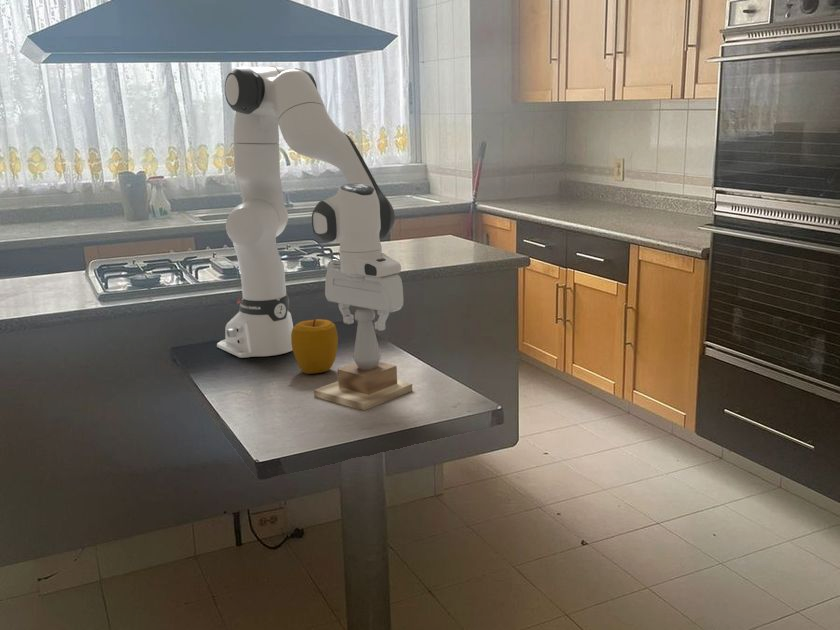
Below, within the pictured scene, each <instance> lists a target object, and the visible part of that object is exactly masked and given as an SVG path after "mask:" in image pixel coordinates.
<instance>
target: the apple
mask: <svg viewBox="0 0 840 630" xmlns="http://www.w3.org/2000/svg"><path fill="white" fill-rule="evenodd" d="M338 339H339V335H338V330H337V328H336V324H335V323H333V322H332V321H331V320H328V319H321V318H318V319H315V318H314V319H310V320H309V319H307V320H302V321H299V322H298V323H296V324H295V325H293V329H292V333H291V345H292V353H293V356H294V358H295V360H296V362H297V365H298V367H299V369H300V370H301V372H302V373H304V374H306V375H308V374H309V375H311V374H319V373H326V372H328V371H329V370H331V368H332V366H333V364H334V363H335V360H336V357H337V352H338V346H339V345H338V344H339V343H338Z"/></svg>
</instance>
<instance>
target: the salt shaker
mask: <svg viewBox="0 0 840 630" xmlns="http://www.w3.org/2000/svg"><path fill="white" fill-rule="evenodd" d="M354 318H355V320H356V321H357V327H356V335H355V343H354V351H353V360H354V363H356V364H357V366H358V368H359V369H361V370H372V369H375V368H377V366H378V363H379V362H380V360H381V357H382V354H381V351H380V347H379V343H378V339H377V336H376V335H377V334H376V330H375V325H374V323H373V320H375V318H376V312H375V310H374V309H368V308H363V307H359V308H357V309H356V310H355V312H354Z"/></svg>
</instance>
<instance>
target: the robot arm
mask: <svg viewBox="0 0 840 630" xmlns="http://www.w3.org/2000/svg"><path fill="white" fill-rule="evenodd" d="M224 94H225V95H224V96H225V99H226V102H227V104H228V106H229V107H230V109H232V111H235V112H234V113H235V114H234V121H233V163H234V164H233V165H234V166H233V167H234V176H235V178H236V181H237V182H238V186H239V191H240V194H241V200H242V201H241V202H242V203H240V204H238V205H236V206H235V207H234V208H233V209H232V211H231V212H230V213H229V214H228V216H227V219H226V221H225V230H226V234H227V236H228V238H229V239H230V241H231V242H232V244H233V249H234V251H235V255H236V258H237V262H238V265H239V272H240V280H241V281H240V283H241V292H242V297H241V298H238V299H236V301H238V302H237V304H238V305H239V308H238V309H239V311H238V312H237V313H236V314H235V315H234V316H233V317H232V318H231V319H230V320H229V321H228V322H227V323H226V325H225V333H224V335H225V339H222V340H220V341H219V342H217V343H216V347H217V348H219V349H221V350H222V351H225V352H226V353H229V354H232V355H234V356H236V357H238V358H241V359H243V358H250V357H251V358H252V357H270V356H271V357H272V356H278V355H282V354H287V353H289V352H293V350H292V345H291V333H292V329H293V327H294V324H293V319H292V314H291V312H290V311H289V308H290V299H289V294H288V293H287V286H286V274H285V273H286V272H285V265H284V262H283V261H282V259H281V256H280V253H279V248H278V246H277V245H278V244H277V237H279V235H281V234H282V233H283V232H284V231H285V228H286V227H287V224H288V221H289V214H288V209H287V207H286V204H285V197H284V196H285V195H284V191H283V186H282V180H281V167H280V166H281V165H280V163H281V162H280V134H279V133H281V135H282V137H283V139H284V142H285V143H286V144H287V146H288V147H289V149H291V150H292V151H294V152H295V153H297V154H298V155H300V156H304V157H307V158H310V159H315V160H319V161H321V162H324V163H326V164H330V165H332V166H334V167H335V168H336V169H338V170H339V171H341V173H343V176H344V177H345V179H346V182H347V183H346V184H343V185H341V186H340V187H339V188H338V190H337V192H336V193H335V194H334V195H333V196H331V197H328V198H326V199H324V200H320V201H319V202H317V204H316V205H315V206H314V208H313V210H312V213H311V227H312V231H313V234H314V235H315V236H316V237H317V238H318V239H319V240H320V241H321V242H323V243H327V244H339V249H338V250H339V251H338V252H339V259H336V258H332V259H331V260H329V262H328V263H327V264H326V274H325V284H324V285H325V286H324V295H325V297H326V300H327V301H328V302H332V303H337V304H338V309H339V311H340V313H341V315H342V318H343V324H346V325H352V324H354V323H355V320H354V318H355V314H352V313H351V311H350V307H351V306H353V307H359V308H368V309H373V310H374V311H375V310H376V311H377V316H379V317H378V318H377V320H376V321H374V330H375V331H380V332H381V331H385V330H386V321H387V319H388V317H389V315H390V313H394V312H397V311H400V310H401V309H402V308H403V306H404V287H403V281H402V278H401V276H400V275H399V273H401V271H402V265H401V263H400V262H399V261H397V260H395V259H393V258H392V257H390V256H388V255H387V254H385V253H384V252H383V248H382V244H381V240H384V239H385V238H386V237H387V235H389V233H390V232H391V231H392V229H393V227H394V225H395V220H396V214H395V211H394V207H393V206H392V204H391V202H390V201H389V199H388V197H387V196H385V194H384V193H383V192H382V189H380V187H379V185H378V183H377V182H376V180H375V178H374V176H373V174H372V173H371V172H372V171H370V169H369V167H368V165H367V163H366V162H365V160H364V158H363V156H362V154H361V153H360V150H359V149H358V148H357V146H356V144H355V143H354V141H353V139H352V138H351V137H350V136H349V134H347V133H345V132H343V131H342V130H341V129H340V128H339V126H337V125H336V123H334V121H333V120H332V119H331V117H330V115H329V113H328V112H327V109H326V106H325V104H324V103H325V102H323V98H322V96H321V95H320V92H319V91H318V85H317V82H316V80H315V78H314V76H313V74H312V73H310V72H309V71H307V70H304V69H301V68H297V67H295V68H291V67H290V68H289V67H287V66H277V65H270V66H251V67H250V66H247V65H245V66H238V67H234V68H233V69H231V70H230V71H229V72H228V74H227V76H226V77H225V81H224Z"/></svg>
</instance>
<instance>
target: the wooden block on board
mask: <svg viewBox="0 0 840 630" xmlns="http://www.w3.org/2000/svg"><path fill="white" fill-rule="evenodd" d="M397 369H398V368H397V365H395V364H391V363H387V362H382V361H379V363H378V366H377V368H375V369H372V370H361V369H359V368H358V366H357V364H356V362H354V363H351V364H349V365H345V366H343V367H340V368H337V381H334V382H331V383H329V384H326V385H323V386H320V387H318V388H315V389H313V395H314V397H315V398H318V399H322V400H326V401H330V402H333V403H336V404H340V405H343V406H346V407H349V408H353V409H357V410H360V411H367V410H369V409H371V408H374V407H377V406H378V405H381V404H383V403H386V402H388V401H391V400H393V399H396V398H397V397H400V396H403V395H405V394H407V393H410V392H412V391H413V384H412V383H410V382H405V381H401V380H398V370H397Z"/></svg>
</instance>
